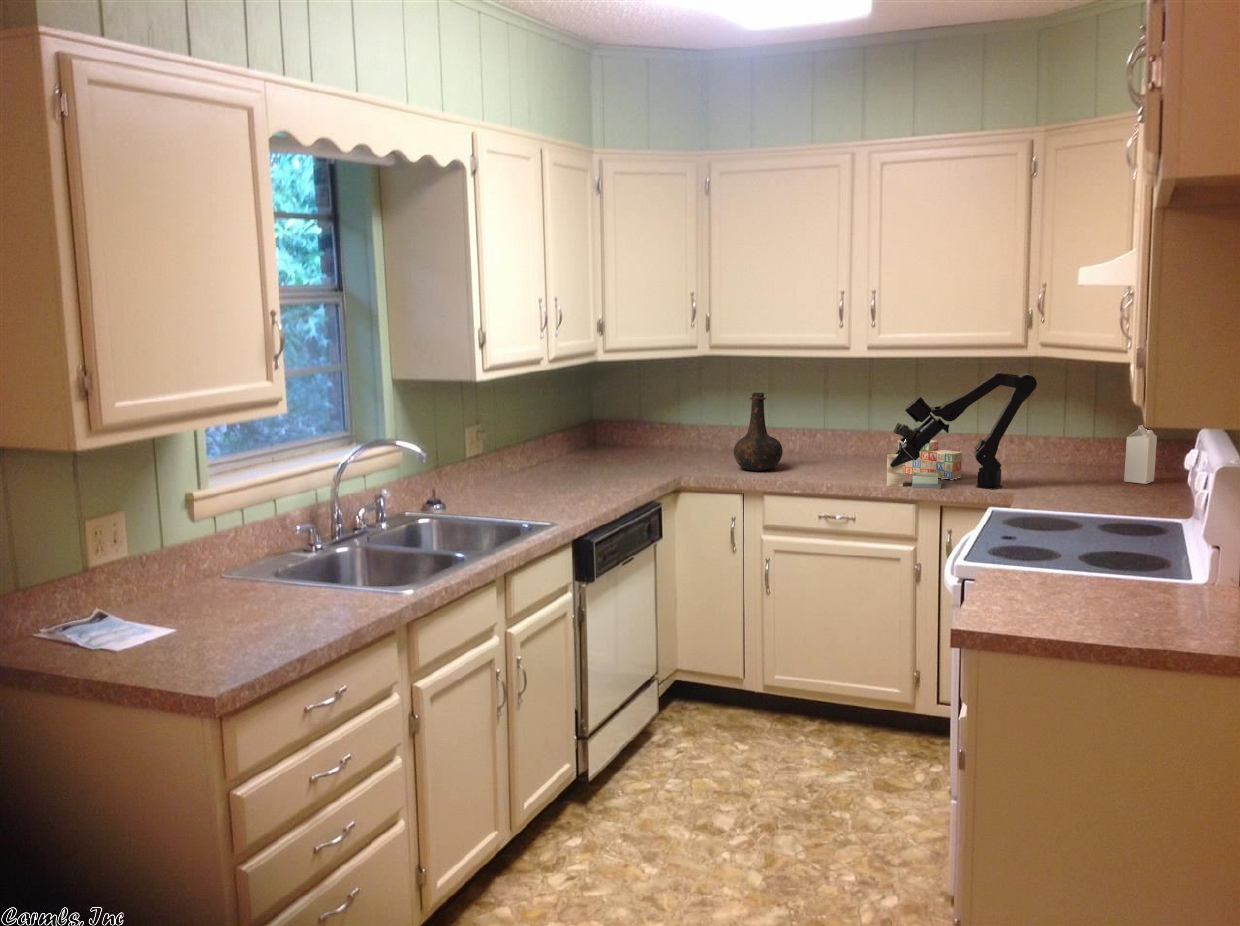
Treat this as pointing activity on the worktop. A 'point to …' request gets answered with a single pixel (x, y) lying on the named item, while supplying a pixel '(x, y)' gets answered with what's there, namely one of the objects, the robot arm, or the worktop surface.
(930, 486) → the tower base
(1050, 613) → the worktop surface
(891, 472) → the tall block
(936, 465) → the stack of blocks
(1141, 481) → the milk carton
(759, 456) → the glass bottle
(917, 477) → the tower top
